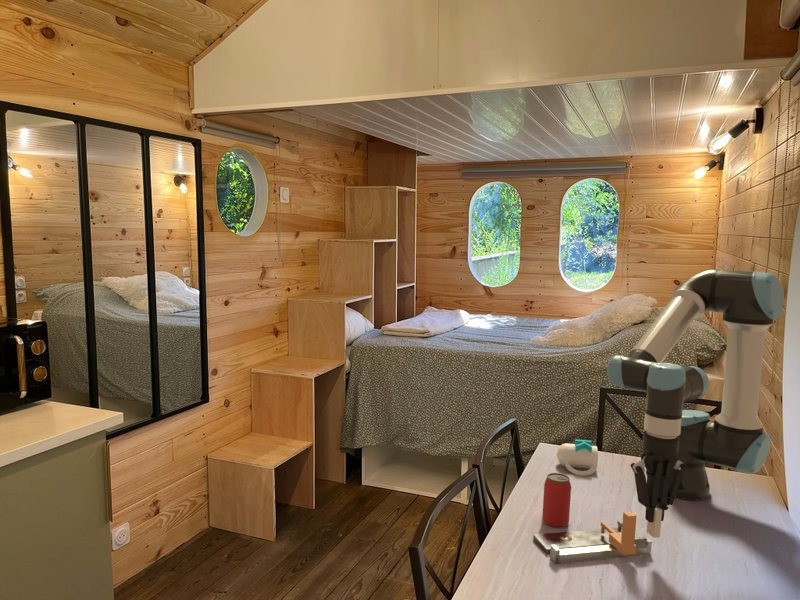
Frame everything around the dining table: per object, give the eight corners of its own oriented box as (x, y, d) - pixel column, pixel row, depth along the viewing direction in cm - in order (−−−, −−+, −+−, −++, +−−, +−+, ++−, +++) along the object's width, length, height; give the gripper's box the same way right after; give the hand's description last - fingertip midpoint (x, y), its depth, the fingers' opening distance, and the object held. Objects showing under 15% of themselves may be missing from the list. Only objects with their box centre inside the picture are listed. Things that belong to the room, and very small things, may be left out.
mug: (558, 433, 195) (597, 436, 193) (555, 454, 199) (593, 458, 197) (559, 459, 185) (600, 463, 183) (556, 481, 189) (597, 485, 187)
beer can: (569, 530, 152) (572, 483, 150) (542, 526, 153) (545, 480, 152) (567, 518, 158) (570, 473, 157) (541, 515, 159) (544, 470, 158)
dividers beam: (628, 536, 149) (630, 519, 149) (651, 555, 141) (652, 537, 140) (537, 544, 144) (538, 527, 144) (555, 564, 135) (556, 546, 135)
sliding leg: (607, 531, 148) (609, 493, 147) (635, 556, 137) (638, 515, 136) (595, 532, 147) (598, 494, 146) (623, 557, 136) (626, 516, 135)
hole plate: (622, 531, 152) (623, 526, 152) (639, 545, 145) (640, 540, 145) (533, 539, 146) (533, 534, 146) (546, 554, 140) (546, 549, 140)
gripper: (676, 426, 141) (667, 524, 143) (625, 429, 138) (617, 528, 140) (698, 437, 133) (689, 540, 136) (646, 440, 131) (637, 545, 133)
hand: (653, 534), depth 138 cm, fingers closed
